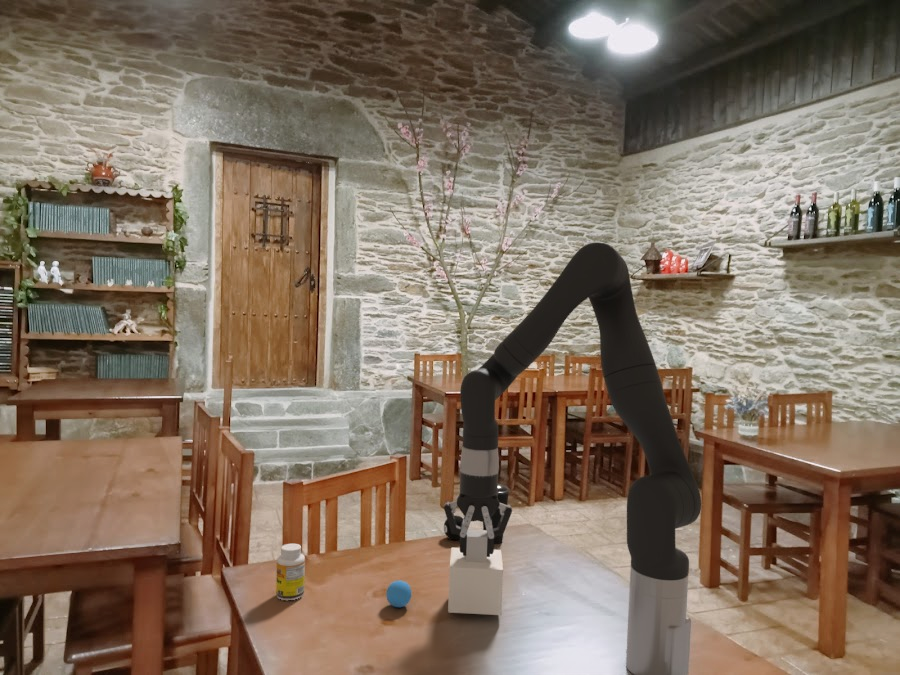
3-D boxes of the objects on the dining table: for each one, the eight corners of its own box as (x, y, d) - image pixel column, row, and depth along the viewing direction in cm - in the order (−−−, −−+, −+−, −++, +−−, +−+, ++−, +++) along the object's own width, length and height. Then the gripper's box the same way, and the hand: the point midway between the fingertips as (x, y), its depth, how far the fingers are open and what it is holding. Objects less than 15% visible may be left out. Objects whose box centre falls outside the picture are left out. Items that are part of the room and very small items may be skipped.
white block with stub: (499, 591, 131) (501, 525, 131) (501, 615, 121) (504, 544, 121) (450, 589, 132) (452, 523, 131) (448, 612, 121) (450, 541, 121)
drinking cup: (506, 547, 160) (509, 469, 159) (476, 544, 161) (479, 466, 160) (509, 537, 167) (512, 462, 166) (480, 534, 169) (483, 459, 168)
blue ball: (393, 614, 126) (416, 606, 126) (385, 605, 123) (409, 596, 123) (388, 591, 130) (411, 582, 130) (381, 581, 126) (404, 572, 126)
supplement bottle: (275, 591, 131) (276, 542, 131) (303, 588, 133) (304, 540, 132) (276, 603, 126) (277, 553, 125) (305, 600, 127) (306, 550, 127)
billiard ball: (439, 536, 166) (440, 513, 166) (460, 533, 169) (461, 511, 168) (449, 544, 161) (450, 521, 160) (470, 541, 163) (471, 518, 163)
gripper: (514, 466, 129) (511, 549, 129) (444, 463, 129) (441, 546, 130) (516, 476, 121) (513, 564, 122) (442, 472, 122) (439, 560, 122)
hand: (476, 554), depth 126 cm, fingers closed on white block with stub, 4 cm apart
